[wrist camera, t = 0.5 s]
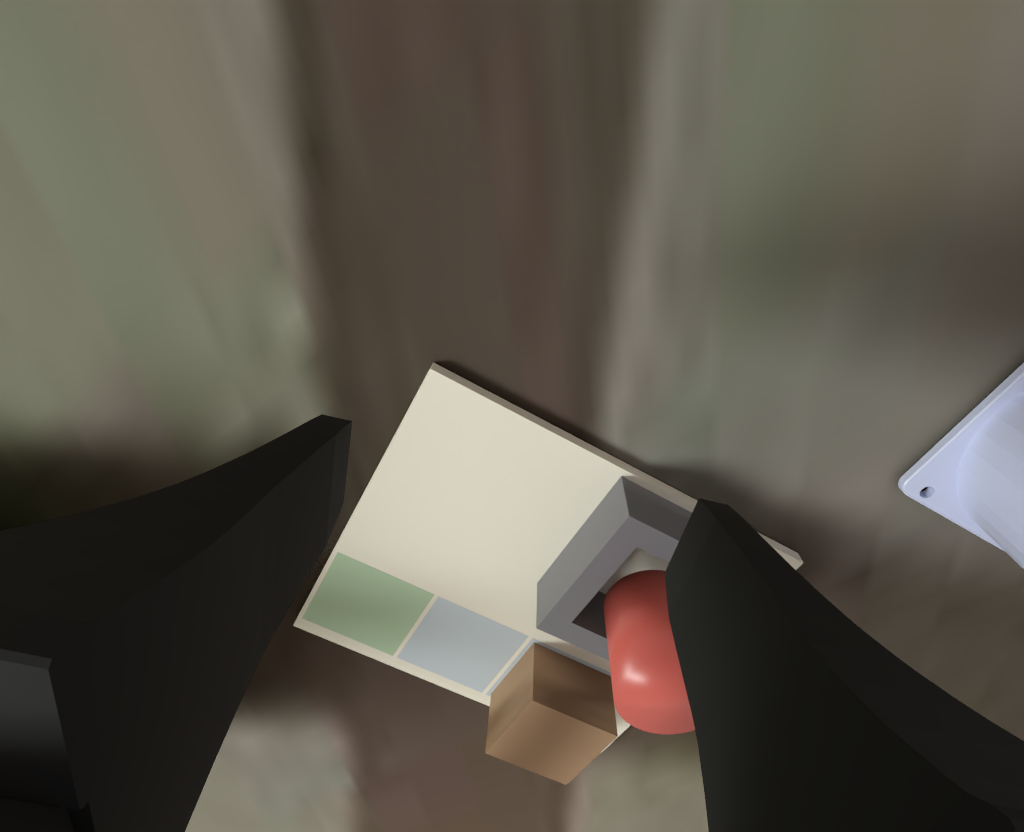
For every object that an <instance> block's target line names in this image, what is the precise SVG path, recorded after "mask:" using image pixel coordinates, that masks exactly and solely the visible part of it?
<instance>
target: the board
mask: <svg viewBox="0 0 1024 832" xmlns="http://www.w3.org/2000/svg"><path fill="white" fill-rule="evenodd" d="M621 476H622V477H624V478H626V479H628V480H630V481H632V482H634V483H636V484H638V485H640V486H641V487H643V488H645V489H647V490H649V491H651V492H653V493H655V494H657V495H659V496H661V497H663V498H665V499H667V500H669V501H670V502H672V503H674V504H676V505H678V506H680V507H682V508H684V509H686V510H688V511H690V512H693V510H694V508H695V506H696V503H697V500H695V499H694V498H692V497H690V496H688V495H686V494H684V493H682V492H680V491H678V490H676V489H674V488H673V487H671V486H669V485H667V484H665V483H663V482H661V481H659V480H657V479H655V478H653V477H652V476H650V475H648V474H646V473H644V472H642V471H640V470H638V469H636V468H634V467H632V466H630V465H629V464H627V463H625V462H623V461H621V460H619V459H617V458H615V457H613V456H611V455H609V454H608V453H606V452H604V451H602V450H600V449H598V448H596V447H594V446H592V445H590V444H588V443H587V442H585V441H583V440H581V439H579V438H577V437H575V436H573V435H571V434H569V433H567V432H566V431H564V430H562V429H560V428H558V427H556V426H554V425H552V424H550V423H548V422H546V421H545V420H543V419H541V418H539V417H537V416H535V415H533V414H531V413H529V412H527V411H525V410H523V409H522V408H520V407H518V406H516V405H514V404H512V403H510V402H508V401H506V400H504V399H502V398H501V397H499V396H497V395H495V394H493V393H491V392H489V391H487V390H485V389H483V388H481V387H480V386H478V385H476V384H474V383H472V382H470V381H468V380H466V379H464V378H462V377H460V376H459V375H457V374H455V373H453V372H451V371H449V370H447V369H445V368H443V367H441V366H439V365H437V364H436V363H434V362H433V364H432V366H431V368H430V369H429V371H428V373H427V375H426V377H425V379H424V381H423V383H422V384H421V386H420V388H419V390H418V392H417V394H416V396H415V397H414V399H413V401H412V403H411V405H410V407H409V409H408V411H407V412H406V414H405V416H404V418H403V420H402V422H401V424H400V426H399V427H398V429H397V431H396V433H395V435H394V437H393V439H392V441H391V442H390V444H389V446H388V448H387V450H386V452H385V454H384V456H383V457H382V459H381V461H380V463H379V465H378V467H377V469H376V471H375V472H374V474H373V476H372V478H371V480H370V482H369V484H368V486H367V487H366V489H365V491H364V493H363V495H362V497H361V499H360V501H359V502H358V504H357V506H356V508H355V510H354V512H353V514H352V516H351V517H350V519H349V521H348V523H347V525H346V527H345V529H344V531H343V532H342V534H341V536H340V538H339V540H338V542H337V544H336V545H335V547H334V549H333V551H332V553H331V555H330V557H329V559H328V560H327V562H326V564H325V566H324V568H323V570H322V572H321V574H320V575H319V577H318V579H317V581H316V583H315V585H314V587H313V589H312V590H311V592H310V594H309V596H308V598H307V600H306V602H305V604H304V605H303V607H302V609H301V611H300V613H299V615H298V617H297V619H296V621H295V623H294V625H293V626H295V627H297V628H300V629H302V630H305V631H307V632H310V633H312V634H314V635H317V636H319V637H322V638H324V639H327V640H329V641H331V642H334V643H336V644H339V645H341V646H344V647H346V648H349V649H351V650H353V651H356V652H358V653H361V654H363V655H366V656H368V657H370V658H373V659H375V660H378V661H380V662H383V663H385V664H387V665H390V666H392V667H395V668H397V669H400V670H402V671H405V672H407V673H409V674H412V675H414V676H417V677H419V678H422V679H424V680H426V681H429V682H431V683H434V684H436V685H439V686H441V687H443V688H446V689H448V690H451V691H453V692H456V693H458V694H461V695H463V696H465V697H468V698H470V699H473V700H475V701H478V702H480V703H482V704H485V705H487V706H490V699H491V693H492V692H493V691H494V690H495V688H496V687H497V686H498V685H499V684H500V682H501V681H502V680H503V679H504V678H505V676H506V675H507V674H508V673H509V672H510V670H511V669H512V668H513V667H514V666H515V665H516V663H517V662H518V661H519V660H520V659H521V657H522V656H523V655H524V654H525V653H526V651H527V650H528V649H529V648H530V647H531V645H532V644H533V643H537V644H539V645H541V646H543V647H546V648H548V649H550V650H552V651H555V652H557V653H559V654H561V655H564V656H566V657H568V658H571V659H573V660H575V661H577V662H580V663H582V664H584V665H586V666H589V667H591V668H593V669H596V670H598V671H600V672H602V673H605V674H607V675H609V676H611V671H610V662H609V661H608V660H606V659H604V658H602V657H599V656H597V655H595V654H593V653H590V652H588V651H586V650H584V649H582V648H579V647H577V646H575V645H573V644H570V643H568V642H566V641H564V640H561V639H559V638H557V637H555V636H552V635H550V634H548V633H546V632H543V631H541V630H539V629H537V628H536V616H537V582H538V581H539V580H540V579H541V577H542V576H543V575H544V574H545V572H546V571H547V570H548V568H549V567H550V566H551V565H552V563H553V562H554V561H555V560H556V558H557V557H558V556H559V554H560V553H561V552H562V551H563V549H564V548H565V547H566V546H567V544H568V543H569V542H570V540H571V539H572V538H573V537H574V535H575V534H576V533H577V532H578V530H579V529H580V528H581V526H582V525H583V524H584V523H585V521H586V520H587V519H588V518H589V516H590V515H591V514H592V513H593V511H594V510H595V509H596V507H597V506H598V505H599V504H600V502H601V501H602V500H603V499H604V497H605V496H606V495H607V493H608V492H609V491H610V490H611V488H612V487H613V486H614V485H615V483H616V482H617V481H618V479H619V478H620V477H621ZM758 533H759V532H758ZM759 534H760V533H759ZM760 535H761V536H762V537H763V538H764V539H765V540H766V541H767V542H768V543H769V544H770V545H771V546H772V547H773V548H774V549H775V550H776V551H777V552H778V553H779V554H780V555H781V556H782V557H783V558H784V559H785V560H786V561H787V562H788V563H789V564H790V565H791V566H792V567H793V568H794V569H795V570H797V569H798V568H799V567H800V566H801V565H802V564H803V561H802V559H801V558H800V556H799V554H798V553H797V552H795V551H793V550H791V549H789V548H787V547H785V546H783V545H781V544H780V543H778V542H776V541H774V540H772V539H770V538H768V537H766V536H764V535H762V534H760ZM668 564H669V563H668V562H666V561H664V560H662V559H660V558H658V557H656V556H654V555H652V554H650V553H648V552H646V551H644V550H642V549H640V548H638V547H636V549H635V550H634V551H633V552H632V553H631V554H630V555H629V557H628V558H627V559H626V560H625V561H624V562H623V564H622V565H621V566H620V567H619V568H618V569H617V571H616V572H615V573H614V574H613V575H612V576H611V577H610V579H609V580H608V581H607V582H606V583H605V584H604V586H603V587H602V588H601V589H600V590H599V591H600V592H602V593H604V594H607V592H608V590H609V589H610V588H611V587H612V586H613V585H614V584H615V583H616V582H617V581H618V580H620V579H621V578H623V577H625V576H627V575H629V574H632V573H635V572H638V571H643V570H664V571H666V569H667V567H668ZM611 681H612V680H611ZM612 690H613V689H612ZM614 707H615V704H614ZM615 716H616V725H617V734H618V737H619V736H620V735H621V734H622V733H623V732H624V731H625V730H626V729H627V728H628V727H629V726H630V724H629V723H627V722H626V721H625V720H624V719H623V718H622V717H621V716H620V715H619V713H618V712H617V710H616V708H615ZM612 742H613V741H612ZM612 742H611V743H612ZM611 743H610V744H611ZM610 744H609V745H610ZM609 745H608V746H609ZM608 746H607V747H608ZM607 747H606V748H607ZM606 748H605V749H606ZM605 749H604V750H605ZM604 750H603V751H604ZM603 751H602V752H603Z"/></svg>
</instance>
